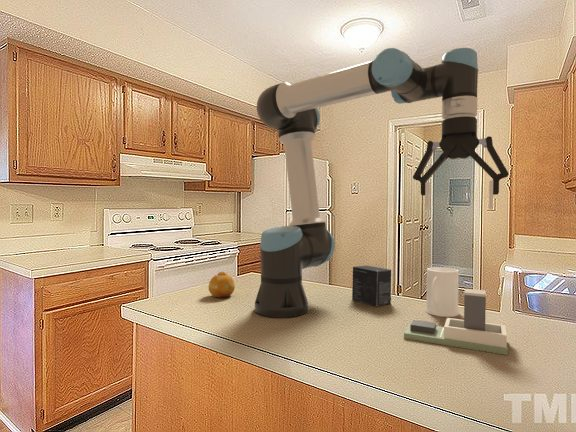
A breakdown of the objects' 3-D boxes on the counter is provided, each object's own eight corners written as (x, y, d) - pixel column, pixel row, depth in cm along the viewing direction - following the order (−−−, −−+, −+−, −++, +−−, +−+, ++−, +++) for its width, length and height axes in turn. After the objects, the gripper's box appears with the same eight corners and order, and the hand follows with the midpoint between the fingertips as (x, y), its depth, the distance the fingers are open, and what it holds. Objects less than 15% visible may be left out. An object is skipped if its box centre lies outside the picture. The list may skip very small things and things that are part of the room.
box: (391, 303, 112) (392, 269, 112) (376, 307, 108) (377, 271, 108) (366, 296, 121) (366, 264, 120) (351, 299, 117) (351, 266, 117)
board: (404, 338, 83) (404, 326, 83) (410, 327, 91) (410, 316, 90) (507, 355, 74) (507, 342, 74) (505, 341, 81) (505, 329, 81)
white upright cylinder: (445, 322, 95) (446, 275, 94) (414, 314, 101) (414, 270, 100) (464, 312, 103) (464, 269, 102) (434, 306, 109) (434, 265, 108)
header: (443, 338, 80) (444, 326, 80) (446, 328, 86) (447, 317, 86) (506, 347, 74) (506, 335, 74) (504, 336, 81) (505, 325, 81)
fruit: (225, 284, 128) (217, 266, 124) (242, 289, 124) (235, 271, 120) (209, 300, 123) (200, 282, 119) (226, 306, 118) (218, 288, 114)
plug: (463, 338, 79) (464, 292, 79) (464, 333, 83) (465, 288, 83) (485, 342, 78) (485, 294, 77) (484, 335, 81) (485, 290, 81)
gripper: (401, 121, 90) (400, 209, 90) (523, 108, 78) (521, 209, 79) (407, 126, 96) (406, 208, 97) (520, 116, 85) (518, 209, 85)
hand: (458, 209), depth 88 cm, fingers open, 13 cm apart
